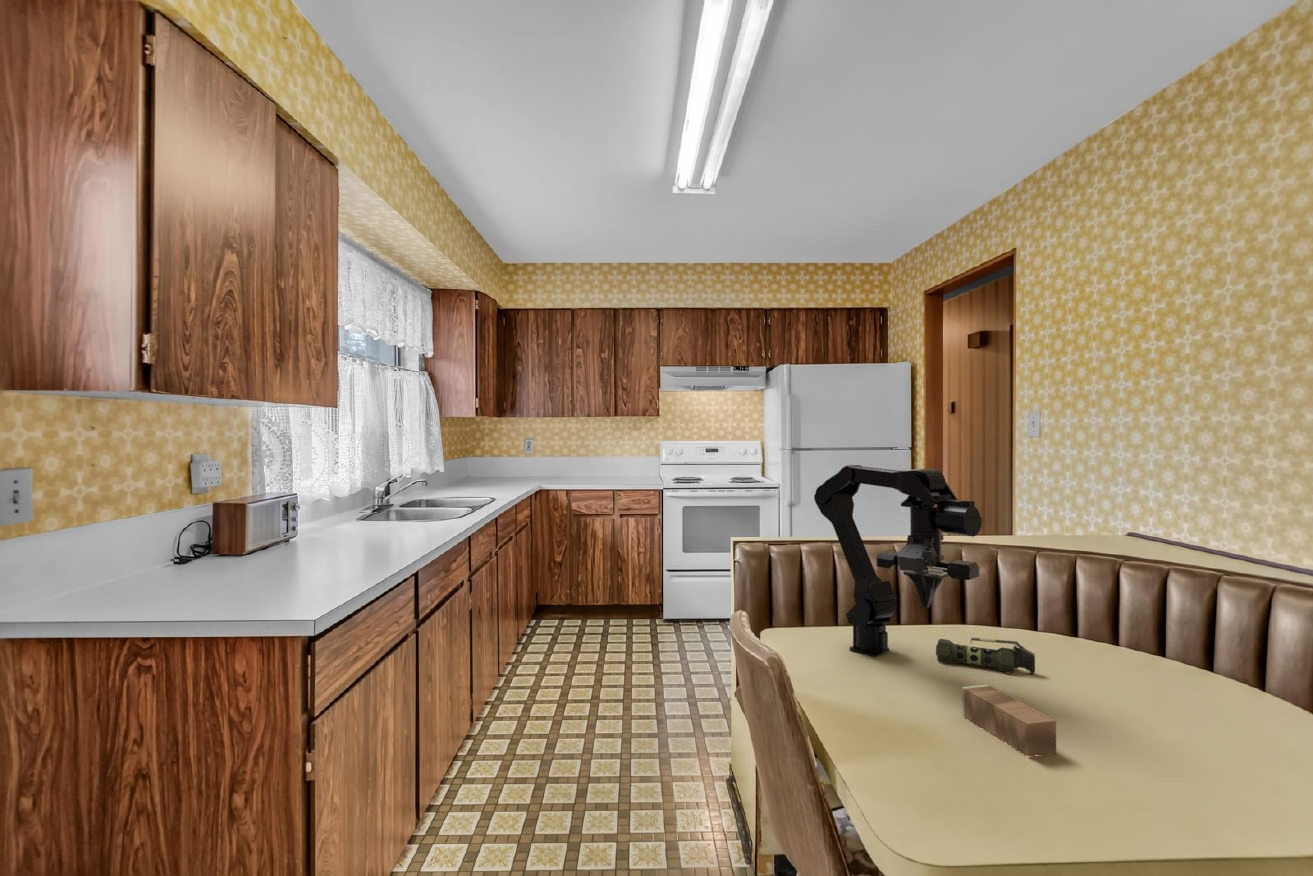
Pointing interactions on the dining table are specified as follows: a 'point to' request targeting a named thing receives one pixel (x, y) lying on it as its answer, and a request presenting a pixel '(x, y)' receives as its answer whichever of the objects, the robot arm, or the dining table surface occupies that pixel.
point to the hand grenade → (987, 655)
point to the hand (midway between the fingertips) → (926, 607)
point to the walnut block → (1009, 720)
